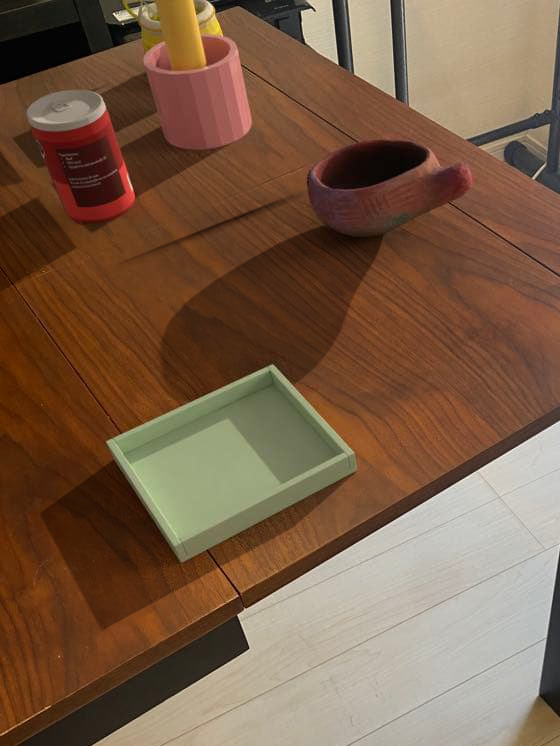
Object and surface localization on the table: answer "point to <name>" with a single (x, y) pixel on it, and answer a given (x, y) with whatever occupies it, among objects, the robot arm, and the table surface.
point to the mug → (153, 27)
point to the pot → (200, 96)
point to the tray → (230, 460)
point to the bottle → (181, 34)
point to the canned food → (82, 155)
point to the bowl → (381, 186)
